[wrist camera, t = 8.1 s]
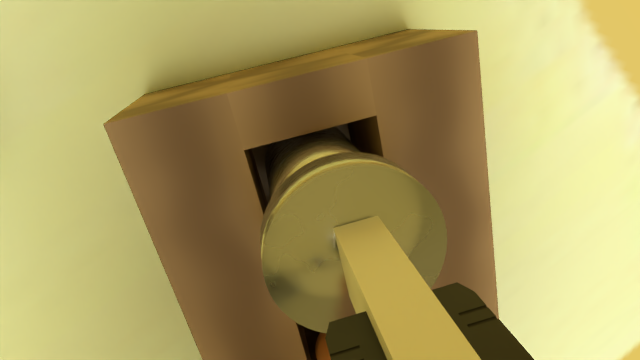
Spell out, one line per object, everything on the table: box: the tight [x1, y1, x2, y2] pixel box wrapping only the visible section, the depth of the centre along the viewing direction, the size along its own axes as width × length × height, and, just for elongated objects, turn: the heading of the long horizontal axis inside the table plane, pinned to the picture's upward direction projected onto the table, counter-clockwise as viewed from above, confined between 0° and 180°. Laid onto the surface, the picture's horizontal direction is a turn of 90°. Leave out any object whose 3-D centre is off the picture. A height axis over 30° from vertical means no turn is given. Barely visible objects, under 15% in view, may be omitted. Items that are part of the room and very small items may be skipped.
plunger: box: [260, 126, 447, 333], centre depth 19 cm, size 6×6×11 cm
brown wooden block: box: [103, 29, 499, 360], centre depth 27 cm, size 16×30×8 cm, turn 13°
